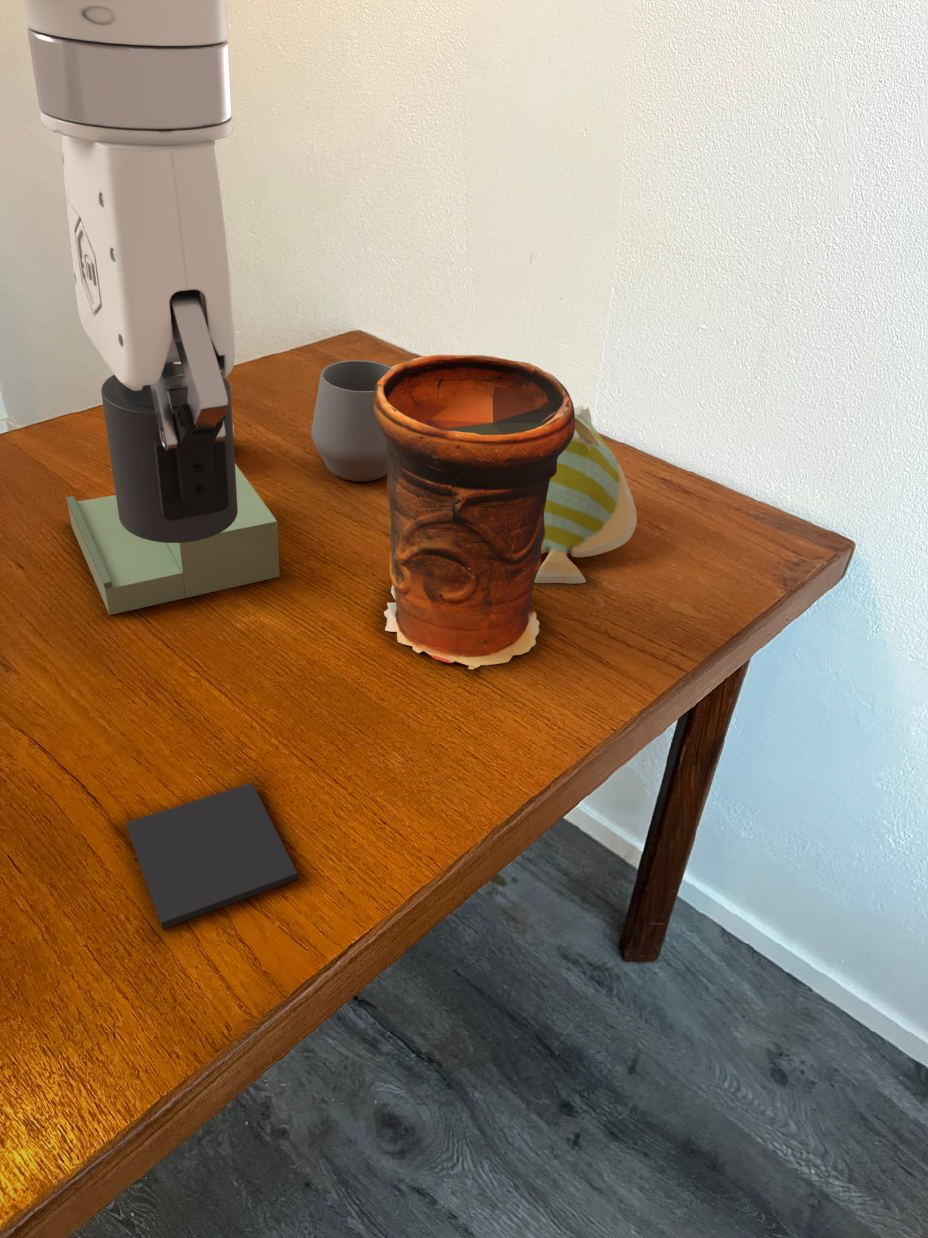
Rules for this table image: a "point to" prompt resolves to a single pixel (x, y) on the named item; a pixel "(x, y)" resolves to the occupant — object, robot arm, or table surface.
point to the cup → (350, 421)
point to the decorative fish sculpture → (584, 505)
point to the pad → (209, 854)
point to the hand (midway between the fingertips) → (174, 478)
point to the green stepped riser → (174, 554)
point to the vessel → (468, 500)
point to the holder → (136, 464)
